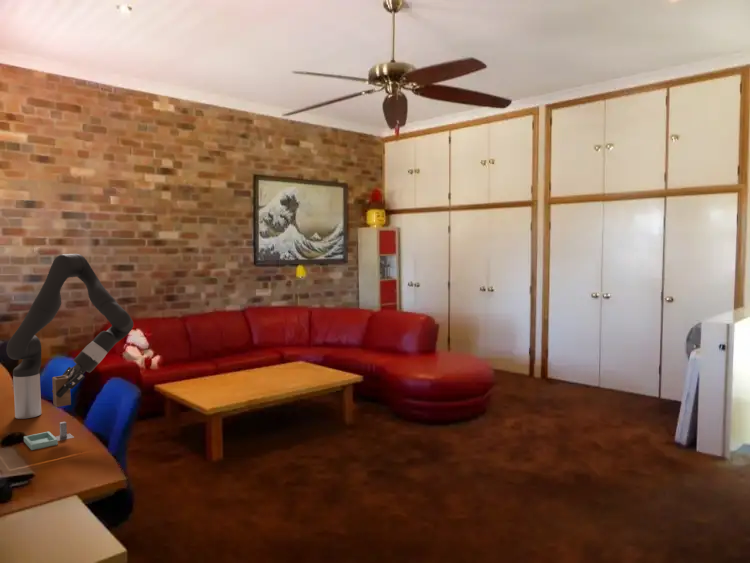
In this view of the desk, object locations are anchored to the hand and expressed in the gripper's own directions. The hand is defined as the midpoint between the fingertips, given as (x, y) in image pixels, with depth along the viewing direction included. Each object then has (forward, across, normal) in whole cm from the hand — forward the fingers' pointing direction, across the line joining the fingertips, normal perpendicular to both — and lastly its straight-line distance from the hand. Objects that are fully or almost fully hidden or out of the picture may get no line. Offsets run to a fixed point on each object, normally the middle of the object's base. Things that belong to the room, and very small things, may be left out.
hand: (55, 394), depth 200 cm
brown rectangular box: (+2, 0, +4) cm, 4 cm away
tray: (+16, +1, +8) cm, 18 cm away
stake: (+10, 0, +13) cm, 17 cm away
